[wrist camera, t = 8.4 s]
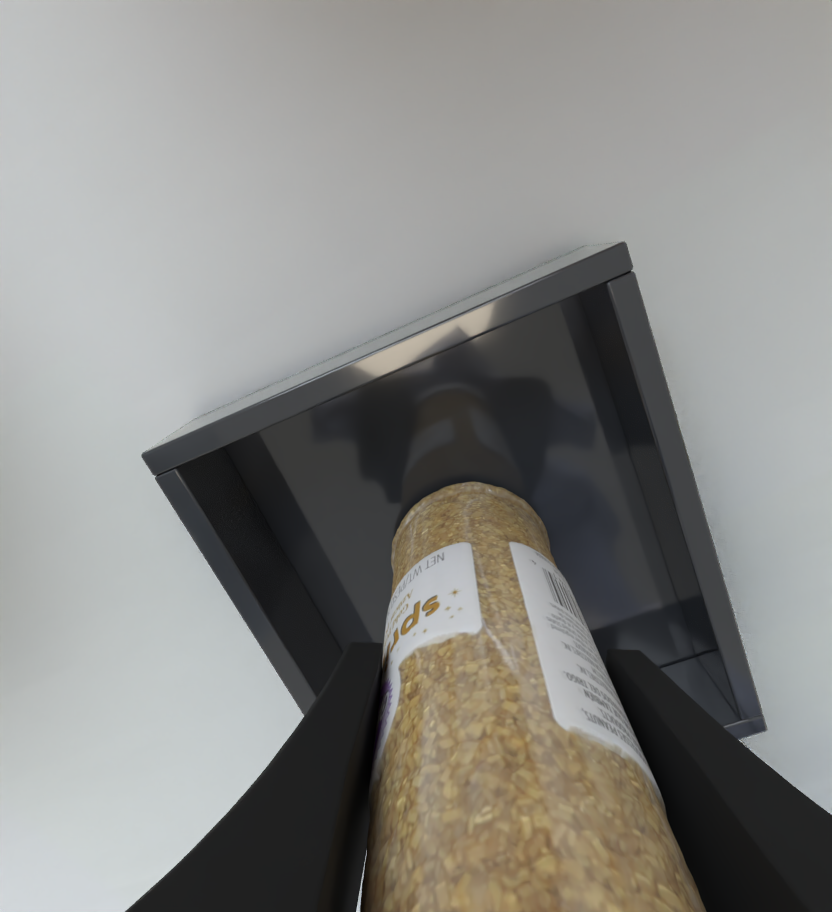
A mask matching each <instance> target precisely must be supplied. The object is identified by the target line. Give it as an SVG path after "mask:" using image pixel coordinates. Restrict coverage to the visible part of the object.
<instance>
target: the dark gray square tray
mask: <svg viewBox="0 0 832 912" xmlns="http://www.w3.org/2000/svg"><path fill="white" fill-rule="evenodd" d="M632 269H633V265H632V261H631V258H630V254H629V251H628V247H627V244H626V243H625V242H614V243H606V244H598V245H590V246H582V247H580V248H578V249H575V250H573V251H571V252H569V253H566V254H564V255H562V256H560V257H557V258H555V259H553V260H551V261H548V262H546V263H544V264H542V265H539V266H537V267H535V268H533V269H530V270H528V271H526V272H524V273H521V274H519V275H517V276H515V277H512V278H510V279H508V280H506V281H503V282H501V283H499V284H497V285H494V286H492V287H490V288H488V289H485V290H483V291H481V292H479V293H476V294H474V295H472V296H470V297H467V298H465V299H463V300H461V301H458V302H456V303H454V304H452V305H449V306H447V307H445V308H443V309H440V310H438V311H436V312H434V313H431V314H429V315H427V316H425V317H422V318H420V319H418V320H416V321H413V322H411V323H409V324H407V325H404V326H402V327H400V328H398V329H395V330H393V331H391V332H389V333H386V334H384V335H382V336H380V337H377V338H375V339H373V340H371V341H368V342H366V343H364V344H362V345H359V346H357V347H355V348H353V349H350V350H348V351H346V352H344V353H341V354H339V355H337V356H335V357H332V358H330V359H328V360H326V361H323V362H321V363H319V364H317V365H315V366H312V367H310V368H308V369H306V370H303V371H301V372H299V373H297V374H294V375H292V376H290V377H288V378H285V379H283V380H281V381H279V382H276V383H274V384H272V385H270V386H267V387H265V388H263V389H261V390H258V391H256V392H254V393H252V394H249V395H247V396H245V397H243V398H240V399H238V400H236V401H234V402H231V403H229V404H227V405H225V406H222V407H220V408H218V409H216V410H213V411H211V412H209V413H207V414H204V415H202V416H200V417H198V418H195V419H193V420H192V421H190V422H189V423H188V424H186V425H184V426H183V427H181V428H180V429H178V430H177V431H175V432H174V433H172V434H171V435H169V436H168V437H166V438H165V439H163V440H162V441H160V442H159V443H157V444H156V445H154V446H152V447H151V448H149V449H148V450H146V451H145V452H143V453H142V455H141V456H142V458H143V460H144V461H145V463H146V465H147V466H148V468H149V469H150V471H151V472H152V474H153V475H154V476H156V477H155V480H156V481H157V483H158V484H159V486H160V488H161V489H162V491H163V492H164V494H165V495H166V497H167V499H168V500H169V502H170V503H171V505H172V507H173V508H174V510H175V511H176V513H177V515H178V516H179V518H180V519H181V521H182V522H183V524H184V526H185V527H186V529H187V530H188V532H189V534H190V535H191V537H192V538H193V540H194V541H195V543H196V545H197V546H198V548H199V549H200V551H201V553H202V554H203V556H204V557H205V559H206V561H207V562H208V564H209V565H210V567H211V568H212V570H213V572H214V573H215V575H216V576H217V578H218V580H219V581H220V583H221V584H222V586H223V588H224V589H225V591H226V592H227V594H228V595H229V597H230V599H231V600H232V602H233V603H234V605H235V607H236V608H237V610H238V611H239V613H240V614H241V616H242V618H243V619H244V621H245V622H246V624H247V626H248V627H249V629H250V630H251V632H252V634H253V635H254V637H255V638H256V640H257V641H258V643H259V645H260V646H261V648H262V649H263V651H264V653H265V654H266V656H267V657H268V659H269V660H270V662H271V664H272V665H273V667H274V668H275V670H276V672H277V673H278V675H279V676H280V678H281V680H282V681H283V683H284V684H285V686H286V687H287V689H288V691H289V692H290V694H291V695H292V697H293V699H294V700H295V702H296V703H297V705H298V707H299V708H300V710H301V711H302V713H303V714H304V716H305V715H306V713H307V712H308V710H309V709H310V707H311V706H312V704H313V703H314V701H315V700H316V698H317V697H318V695H319V694H320V692H321V690H322V689H323V687H324V686H325V684H326V682H327V681H328V679H329V677H330V676H331V674H332V672H333V670H334V669H335V667H336V665H337V663H338V661H339V659H340V658H341V656H342V654H343V651H344V649H345V647H346V646H347V645H348V644H350V643H351V642H366V643H382V659H383V647H384V637H385V627H386V618H387V613H388V608H389V604H390V601H391V595H392V584H393V575H394V574H393V569H392V565H391V555H392V542H393V539H394V537H395V535H396V532H397V529H398V528H399V526H400V524H401V521H402V520H403V519H404V517H405V516H406V514H407V513H408V512H409V510H410V509H411V508H412V507H413V506H414V505H415V504H417V503H418V502H419V501H421V500H422V499H423V498H424V497H426V496H428V495H430V494H432V493H433V492H436V491H439V490H440V489H442V488H444V487H446V486H450V485H453V484H458V483H466V482H480V483H484V484H490V485H493V486H496V487H501V488H504V489H506V490H507V491H510V492H512V493H514V494H515V495H517V496H518V497H520V498H522V499H523V500H525V501H526V502H527V503H528V504H529V505H530V506H531V507H532V508H533V510H534V511H535V512H536V514H537V515H538V516H539V517H540V518H541V520H542V522H543V524H544V526H545V528H546V531H547V535H548V538H549V542H550V551H551V555H552V557H553V558H554V562H555V564H556V566H557V569H558V570H559V571H560V572H561V574H562V575H563V577H564V578H565V579H566V581H567V583H568V585H569V587H570V589H571V591H572V593H573V595H574V598H575V600H576V602H577V604H578V607H579V609H580V611H581V613H582V616H583V618H584V620H585V622H586V624H587V627H588V629H589V631H590V634H591V636H592V638H593V641H594V643H595V645H596V648H597V650H598V652H599V654H600V657H601V659H602V661H603V663H604V666H605V663H606V657H607V650H608V649H625V650H640V651H641V652H642V653H643V654H645V655H646V656H647V657H648V658H649V659H650V660H651V661H652V662H653V663H654V664H656V665H657V666H658V667H659V668H660V669H661V670H662V671H663V672H664V673H665V674H666V675H667V676H668V677H669V678H670V679H672V680H673V681H674V682H675V683H676V684H677V685H678V686H679V687H680V688H681V689H682V690H683V691H684V692H685V693H687V694H688V695H689V696H690V697H691V698H692V699H693V700H694V701H695V702H696V703H697V704H698V705H699V706H701V707H702V708H703V709H704V710H705V711H706V712H707V713H708V714H709V715H710V716H711V717H713V718H714V719H715V720H716V721H717V722H718V723H719V724H720V725H721V726H723V727H724V728H725V729H726V730H727V731H728V732H729V733H731V734H732V735H733V736H734V737H735V738H736V739H737V740H738V739H742V738H745V737H749V736H752V735H756V734H759V733H762V732H766V731H767V726H766V722H765V719H764V716H763V714H762V709H761V705H760V702H759V698H758V695H757V692H756V688H755V685H754V681H753V678H752V674H751V671H750V667H749V664H748V661H747V657H746V654H745V650H744V647H743V643H742V640H741V636H740V633H739V630H738V626H737V623H736V619H735V616H734V612H733V609H732V605H731V602H730V599H729V595H728V592H727V588H726V585H725V581H724V578H723V574H722V571H721V568H720V564H719V561H718V557H717V554H716V550H715V547H714V543H713V540H712V537H711V533H710V530H709V526H708V523H707V519H706V516H705V513H704V509H703V506H702V502H701V499H700V495H699V492H698V488H697V485H696V482H695V478H694V475H693V471H692V468H691V464H690V461H689V457H688V454H687V451H686V447H685V444H684V440H683V437H682V433H681V430H680V426H679V423H678V420H677V416H676V413H675V409H674V406H673V402H672V399H671V395H670V392H669V389H668V385H667V382H666V378H665V375H664V371H663V368H662V364H661V361H660V358H659V354H658V351H657V347H656V344H655V340H654V337H653V334H652V330H651V327H650V323H649V320H648V316H647V313H646V309H645V306H644V303H643V299H642V296H641V292H640V289H639V285H638V282H637V278H636V275H635V273H634V272H633V271H631V270H632Z"/></svg>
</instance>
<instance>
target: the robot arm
mask: <svg viewBox="0 0 832 912" xmlns="http://www.w3.org/2000/svg"><path fill="white" fill-rule="evenodd" d="M605 668H606V670H607V672H608V675H609V677H610V679H611V681H612V684H613V686H614V688H615V690H616V693H617V695H618V697H619V700H620V702H621V704H622V706H623V709H624V711H625V713H626V715H627V718H628V720H629V722H630V724H631V727H632V729H633V731H634V733H635V736H636V738H637V740H638V743H639V745H640V747H641V749H642V752H643V754H644V756H645V758H646V761H647V763H648V765H649V768H650V770H651V772H652V774H653V777H654V779H655V781H656V783H657V786H658V788H659V790H660V793H661V796H662V799H663V801H664V804H665V809H666V815H667V820H668V822H669V825H670V827H671V830H672V832H673V834H674V836H675V839H676V841H677V843H678V845H679V847H680V849H681V852H682V854H683V857H684V860H685V863H686V865H687V867H688V869H689V871H690V873H691V875H692V877H693V879H694V882H695V884H696V886H697V889H698V892H699V895H700V898H701V900H702V902H703V905H704V907H705V909H706V912H832V815H831V814H830V813H828V812H827V811H826V810H824V809H823V808H821V807H820V806H819V805H817V804H816V803H815V802H813V801H812V800H811V799H809V798H808V797H807V796H806V795H804V794H803V793H802V792H800V791H799V790H798V789H797V788H795V787H794V786H793V785H791V784H790V783H789V782H788V781H787V780H785V779H784V778H783V777H782V776H780V775H779V774H778V773H777V772H776V771H774V770H773V769H772V768H771V767H769V766H768V765H767V764H766V763H765V762H763V761H762V760H761V759H760V758H758V757H757V756H756V755H755V754H754V753H753V752H751V751H750V750H749V749H748V748H747V747H746V746H744V745H743V744H742V743H741V742H740V741H739V740H737V739H736V738H735V737H734V736H733V735H732V734H731V733H729V732H728V731H727V730H726V729H725V728H724V727H723V726H721V725H720V724H719V723H718V722H717V721H716V720H715V719H714V718H713V717H711V716H710V715H709V714H708V713H707V712H706V711H705V710H704V709H703V708H702V707H701V706H699V705H698V704H697V703H696V702H695V701H694V700H693V699H692V698H691V697H690V696H689V695H688V694H687V693H685V692H684V691H683V690H682V689H681V688H680V687H679V686H678V685H677V684H676V683H675V682H674V681H673V680H672V679H670V678H669V677H668V676H667V675H666V674H665V673H664V672H663V671H662V670H661V669H660V668H659V667H658V666H657V665H656V664H654V663H653V662H652V661H651V660H650V659H649V658H648V657H647V656H646V655H645V654H643V653H642V652H641V651H640V650H625V649H608V650H607V657H606V663H605ZM381 679H382V643H366V642H351V643H350V644H348V645H347V646H346V647H345V649H344V651H343V654H342V656H341V658H340V659H339V661H338V663H337V665H336V667H335V669H334V670H333V672H332V674H331V676H330V677H329V679H328V681H327V682H326V684H325V686H324V687H323V689H322V690H321V692H320V694H319V695H318V697H317V698H316V700H315V701H314V703H313V704H312V706H311V707H310V709H309V710H308V712H307V713H306V715H305V716H304V718H303V719H302V721H301V722H300V724H299V725H298V726H297V728H296V729H295V731H294V732H293V733H292V735H291V736H290V737H289V739H288V740H287V741H286V742H285V744H284V745H283V746H282V748H281V749H280V750H279V752H278V753H277V754H276V756H275V757H274V758H273V760H272V761H271V762H270V764H269V765H268V766H267V767H266V769H265V770H264V771H263V772H262V773H261V775H260V776H259V777H258V778H257V780H256V781H255V782H254V783H253V784H252V785H251V787H250V788H249V789H248V790H247V791H246V792H245V794H244V795H243V796H242V797H241V798H240V799H239V800H238V802H237V803H236V804H235V805H234V806H233V807H232V808H231V809H230V811H229V812H228V813H227V814H226V815H225V816H224V817H223V818H222V819H221V820H220V821H219V822H218V823H217V824H216V825H215V826H214V827H213V828H212V830H211V831H210V832H209V833H208V834H207V835H206V836H205V837H204V838H203V839H202V840H201V841H200V842H199V843H198V844H197V845H196V846H195V847H194V848H193V849H192V850H191V851H190V852H189V853H188V854H187V855H186V856H185V857H184V858H183V859H182V860H181V861H180V862H179V863H178V864H177V865H176V866H175V867H174V868H173V869H172V870H171V871H170V872H169V873H168V874H166V875H165V876H164V877H163V878H162V879H161V880H160V881H159V882H158V883H156V884H155V885H154V886H153V887H152V888H151V889H150V890H149V891H148V892H146V893H145V894H144V895H143V896H142V897H141V898H140V899H139V900H138V901H136V902H135V903H134V904H133V905H132V906H131V907H130V908H129V909H128V910H126V911H125V912H356V908H357V902H358V896H359V891H360V885H361V879H362V873H363V867H364V862H365V856H366V850H367V837H368V829H369V822H370V810H369V805H368V798H369V785H370V776H371V767H372V757H373V749H374V741H375V732H376V724H377V716H378V708H379V698H380V687H381Z"/></svg>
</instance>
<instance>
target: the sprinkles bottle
mask: <svg viewBox="0 0 832 912" xmlns="http://www.w3.org/2000/svg"><path fill="white" fill-rule="evenodd" d="M391 565H392V569H393V574H394V575H393V584H392V595H391V601H390V604H389V608H388V613H387V618H386V627H385V637H384V647H383V659H382V679H381V687H380V698H379V708H378V716H377V724H376V732H375V741H374V749H373V757H372V767H371V776H370V785H369V798H368V805H369V810H370V822H369V829H368V837H367V856H366V862H365V870H364V878H363V883H362V897H361V906H360V912H706V909H705V907H704V905H703V902H702V900H701V898H700V895H699V892H698V889H697V886H696V884H695V882H694V879H693V877H692V875H691V873H690V871H689V869H688V867H687V865H686V863H685V860H684V857H683V854H682V852H681V849H680V847H679V845H678V843H677V841H676V839H675V836H674V834H673V832H672V830H671V827H670V825H669V822H668V820H667V815H666V809H665V804H664V801H663V799H662V796H661V793H660V790H659V788H658V786H657V783H656V781H655V779H654V777H653V774H652V772H651V770H650V768H649V765H648V763H647V761H646V758H645V756H644V754H643V752H642V749H641V747H640V745H639V743H638V740H637V738H636V736H635V733H634V731H633V729H632V727H631V724H630V722H629V720H628V718H627V715H626V713H625V711H624V709H623V706H622V704H621V702H620V700H619V697H618V695H617V693H616V690H615V688H614V686H613V684H612V681H611V679H610V677H609V675H608V672H607V670H606V668H605V666H604V663H603V661H602V659H601V657H600V654H599V652H598V650H597V648H596V645H595V643H594V641H593V638H592V636H591V634H590V631H589V629H588V627H587V624H586V622H585V620H584V618H583V616H582V613H581V611H580V609H579V607H578V604H577V602H576V600H575V598H574V595H573V593H572V591H571V589H570V587H569V585H568V583H567V581H566V579H565V578H564V577H563V575H562V574H561V572H560V571H559V570H558V569H557V566H556V564H555V562H554V558H553V557H552V555H551V551H550V542H549V538H548V535H547V531H546V528H545V526H544V524H543V522H542V520H541V518H540V517H539V516H538V515H537V514H536V512H535V511H534V510H533V508H532V507H531V506H530V505H529V504H528V503H527V502H526V501H525V500H523V499H522V498H520V497H518V496H517V495H515V494H514V493H512V492H510V491H507V490H506V489H504V488H501V487H496V486H493V485H490V484H484V483H480V482H466V483H458V484H453V485H450V486H446V487H444V488H442V489H440V490H439V491H436V492H433V493H432V494H430V495H428V496H426V497H424V498H423V499H422V500H421V501H419V502H418V503H417V504H415V505H414V506H413V507H412V508H411V509H410V510H409V512H408V513H407V514H406V516H405V517H404V519H403V520H402V521H401V524H400V526H399V528H398V529H397V532H396V535H395V537H394V539H393V542H392V555H391Z"/></svg>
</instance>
